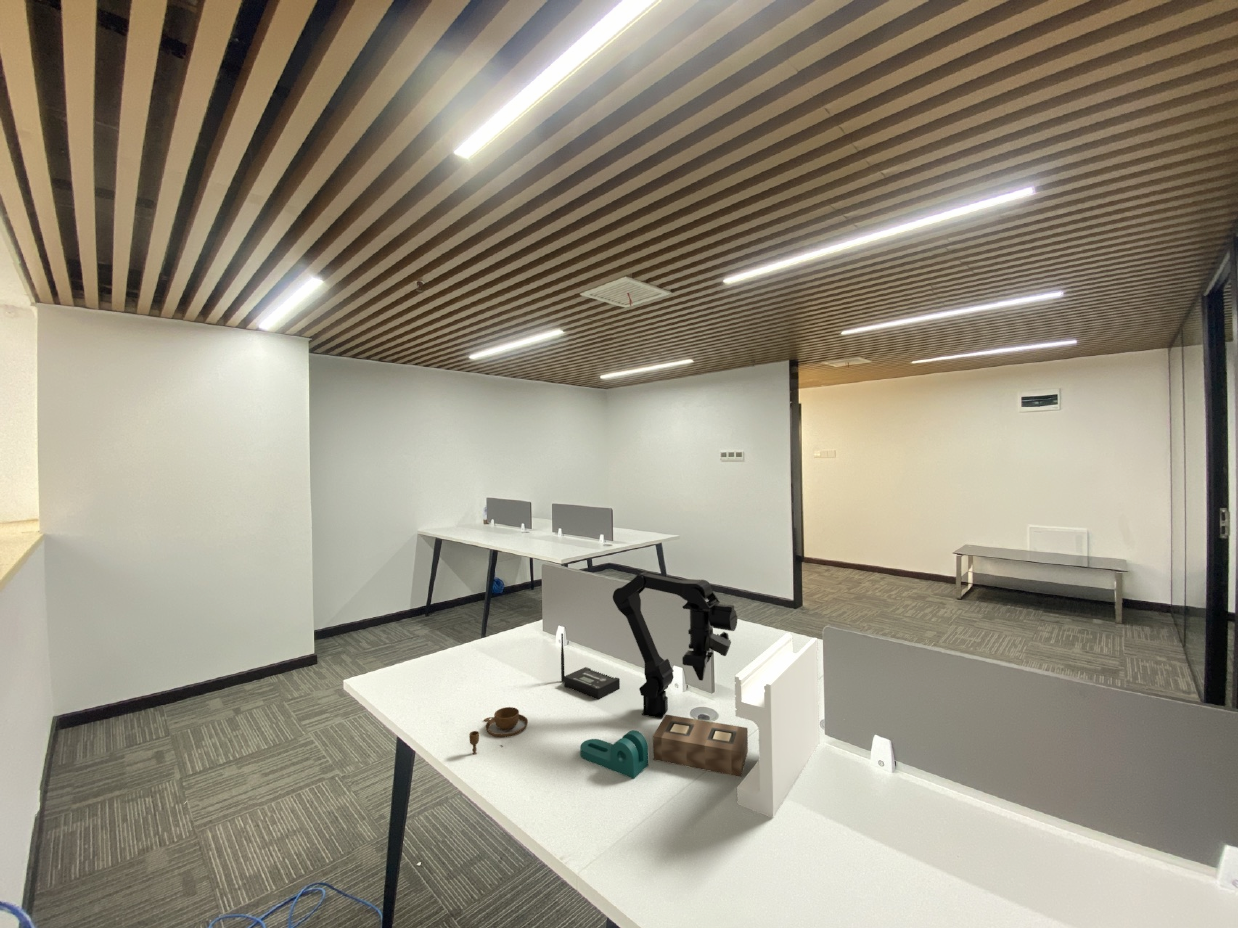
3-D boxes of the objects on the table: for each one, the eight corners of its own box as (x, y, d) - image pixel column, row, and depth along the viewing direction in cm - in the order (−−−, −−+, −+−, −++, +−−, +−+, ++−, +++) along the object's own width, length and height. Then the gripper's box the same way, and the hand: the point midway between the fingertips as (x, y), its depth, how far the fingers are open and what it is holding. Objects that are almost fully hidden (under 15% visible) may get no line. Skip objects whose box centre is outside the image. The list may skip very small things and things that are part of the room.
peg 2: (713, 761, 128) (712, 738, 128) (716, 752, 132) (715, 730, 132) (729, 764, 127) (728, 741, 127) (731, 755, 131) (731, 733, 131)
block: (773, 818, 108) (770, 684, 108) (737, 803, 112) (734, 676, 113) (819, 743, 136) (817, 638, 136) (789, 734, 141) (787, 632, 141)
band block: (653, 759, 130) (652, 736, 130) (666, 736, 141) (665, 714, 141) (741, 777, 122) (740, 752, 122) (747, 750, 133) (747, 727, 133)
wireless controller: (623, 688, 173) (622, 637, 173) (594, 703, 162) (593, 649, 163) (581, 673, 186) (580, 626, 186) (552, 686, 176) (551, 636, 176)
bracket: (648, 765, 128) (647, 734, 128) (633, 779, 122) (633, 746, 122) (591, 744, 138) (590, 715, 138) (575, 756, 132) (574, 726, 132)
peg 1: (670, 753, 132) (670, 731, 132) (674, 745, 136) (674, 723, 136) (685, 756, 131) (685, 733, 131) (689, 747, 135) (689, 726, 135)
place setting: (540, 734, 144) (540, 713, 144) (472, 761, 132) (472, 738, 132) (512, 712, 158) (512, 693, 158) (448, 734, 146) (447, 713, 146)
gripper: (722, 638, 135) (723, 698, 135) (733, 618, 152) (734, 671, 152) (681, 634, 139) (682, 692, 139) (696, 615, 156) (697, 666, 156)
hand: (701, 679), depth 147 cm, fingers closed
